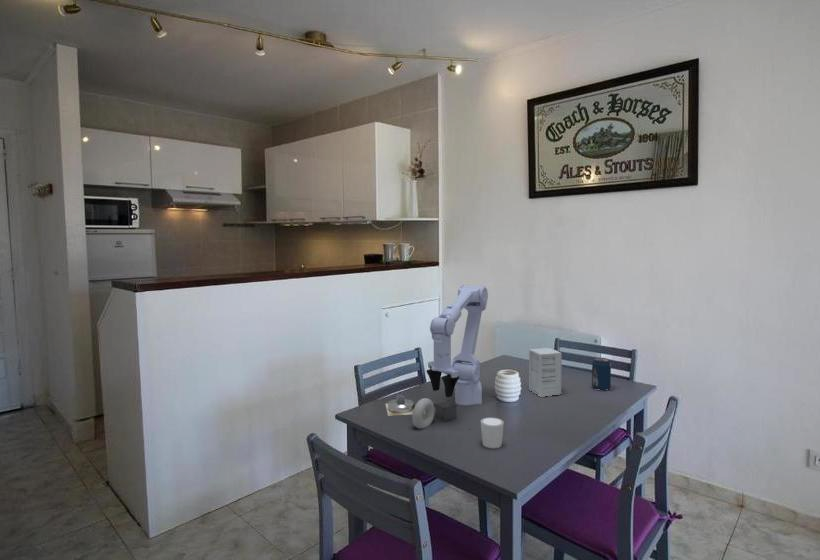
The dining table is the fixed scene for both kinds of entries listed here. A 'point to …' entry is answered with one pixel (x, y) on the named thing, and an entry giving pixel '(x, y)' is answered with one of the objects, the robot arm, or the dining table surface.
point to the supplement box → (545, 371)
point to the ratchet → (404, 404)
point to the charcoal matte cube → (446, 411)
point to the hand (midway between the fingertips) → (442, 393)
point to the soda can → (601, 373)
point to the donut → (429, 413)
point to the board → (399, 413)
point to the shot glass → (492, 432)
